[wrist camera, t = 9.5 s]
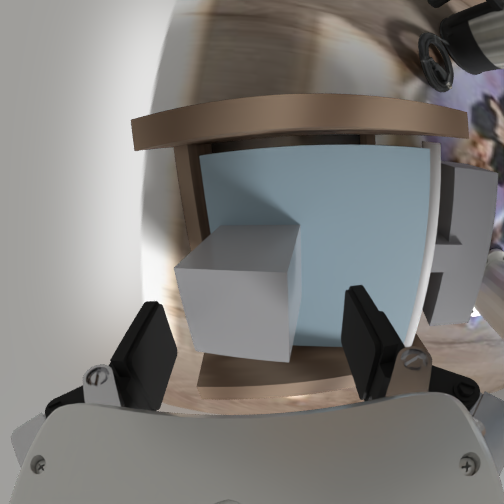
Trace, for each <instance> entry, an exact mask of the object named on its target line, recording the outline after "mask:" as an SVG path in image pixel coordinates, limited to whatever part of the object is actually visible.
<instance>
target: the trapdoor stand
mask: <svg viewBox="0 0 504 504" xmlns="http://www.w3.org/2000/svg"><path fill="white" fill-rule="evenodd" d="M131 126H132V134H133V142H134V150H135V151H139V150H147V149H157V148H168V147H174V153H175V160H176V167H177V174H178V181H179V187H180V193H181V199H182V205H183V211H184V217H185V222H186V228H187V233H188V239H189V244H190V249H191V252H192V251H193V250H194V249H195V248H196V247H197V246H198V245H199V244H200V243H201V242H203V241H204V240H205V239H206V238H207V237H208V236H209V235H210V234H211V233H210V226H209V220H208V214H207V207H206V200H205V194H204V187H203V180H202V172H201V165H200V157H199V156H201V155H206V154H212V148H211V144H214V143H221V142H228V141H237V140H246V139H255V138H266V137H279V136H296V135H325V134H356V135H360V145H375V135H427V136H443V137H455V138H466V139H469V132H468V118H467V112H464V111H460V110H456V109H452V108H448V107H443V106H438V105H433V104H428V103H422V102H417V101H410V100H403V99H396V98H388V97H378V96H367V95H352V94H282V95H267V96H255V97H245V98H236V99H228V100H221V101H214V102H208V103H202V104H197V105H191V106H186V107H181V108H176V109H172V110H167V111H163V112H159V113H155V114H151V115H147V116H143V117H139V118H136V119H132V120H131ZM412 346H416V347H420V348H423V349H424V350H426V351H427V349H426V348H425V346H424V345H423V343H422V342H421V340H420V339H419V337H418V336H417V334H415V337H414V340H413V343H412ZM427 352H428V351H427ZM428 353H429V352H428ZM430 356H431V355H430ZM352 387H356V385H355V382H354V379H353V376H352V373H351V370H350V367H349V364H348V361H347V358H346V356H345V353H344V350H343V347H323V346H297V345H293V346H292V351H291V356H290V361H289V363H288V362H276V361H266V360H256V359H247V358H239V357H232V356H225V355H218V354H211V353H205V352H204V356H203V361H202V365H201V370H200V374H199V379H198V383H197V389H198V391H199V394H200V396H201V399H215V400H229V399H260V398H276V397H288V396H298V395H307V394H315V393H322V392H329V391H335V390H341V389H347V388H352Z"/></svg>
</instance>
